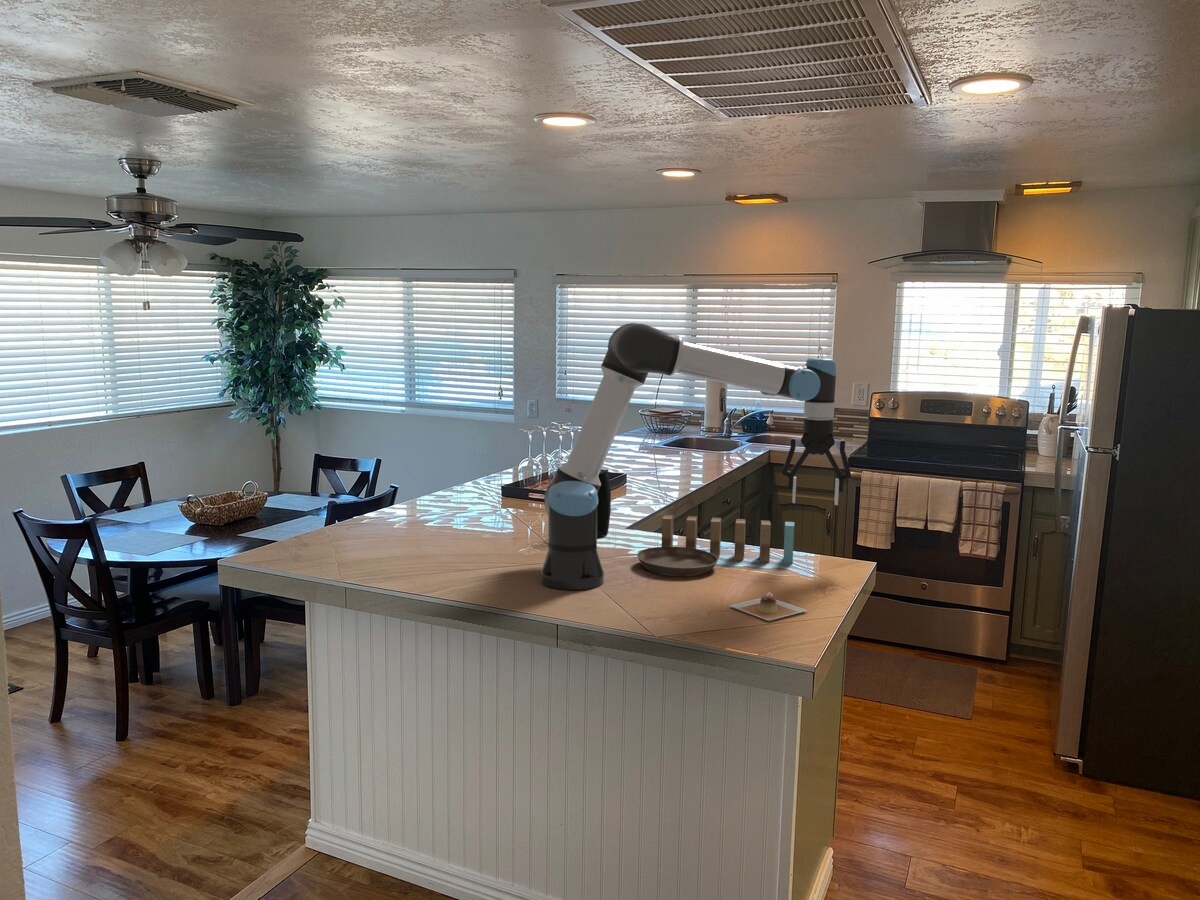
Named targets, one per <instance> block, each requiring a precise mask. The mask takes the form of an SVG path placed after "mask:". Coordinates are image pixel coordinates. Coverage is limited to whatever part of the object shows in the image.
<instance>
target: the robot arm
mask: <svg viewBox="0 0 1200 900" xmlns="http://www.w3.org/2000/svg"><path fill="white" fill-rule="evenodd" d="M600 370H601V371H602V375H603V377H602V379H601V381H600V383H599V386H598V388H597V391H596V393H595V395H594V398H593V401H592V403H591V404H590V406H589V409H588V412H587V415H586V417H585V419H584V422H583V423H582V426H581V428H580V431H579V433H578V436H577V437H576V441H575V443H574V446H573V448H572V450H571V453H570V455H569V457H568V460H567V461H566V462H565V463H564V464H562V465H560V466H559V465H558V468H557V470H556V472H555V475H554V477H553V479H552V481H551V483H550V484H549V486H547V488H546V489H545V492H544V498H543V501H544V502H543V504H544V508H545V509H544V510H545V511H546V513H547V517H548V520H547V521H548V523H547V524H548V529H547V530H548V532H547V533H548V538H547V539H548V540H547V541H548V543H547V544H548V546H547V547H548V549H547V553H546V556H545V559H544V561H543V565H542V568H541V570H540V582H541V584H543V585H544V586H546V587H549V588H552V589H556V590H568V591H575V590H576V591H577V590H579V591H580V590H588V589H589V590H590V589H593V588H596V587H599V586H602V585H603V584H604V580H605V578H604V577H605V576H604V575H605V574H604V573H605V571H604V569H603V566H602V562H601V559H600V557H599V553H598V538H597V505H598V496H597V493H598V491H599V488H600V486H601V483H600V480H599V477H598V475H599V473H600V471H601V469H603V467H604V466H603V465H604V463H605V461H606V458H607V456H608V454H609V451H610V449H611V447H612V445H613V442H614V439H615V437H616V435H617V432H618V430H619V429H620V426H621V423H622V422H623V418H624V416H625V414H626V411H627V409H628V407H629V404H630V401H631V400H632V397H633V395H634V392H635V390H636V389H637V388H639V387H641V386H643V385H644V384H645V382H646V381H647V380H646V379H647V377H648V376H649V375H648V374H649V373H651V374H659V375H664V376H665V375H666V376H673V375H674V374H679V375H680V374H681V375H685V376H690V377H695V378H699V379H703V380H708V381H712V382H713V381H714V382H717V383H721V384H727V385H731V386H735V387H740V388H744V389H749V390H753V391H758V392H759V393H761V394H762V395H763V396H772V397H774V396H780V397H783V398H788V399H794V400H796V401H800V402H804V404H803V405H804V406H803V411H804V412H803V416H804V419H803V426H802V427H803V430H802V432H803V433H802V437H801V438H796V437H791V438H790V448H789V450H788V452H787V453H788V454H787V456H786V459H785V461H784V464H783V467H782V470H781V474H782V475H783V476H785V477H787V478H788V483H787V484H788V485H787V486H788V490H789V491H792V501H791V503H792V504H796V493H797V476H795V475H796V473H797V472H798V470H799V469H800V467H801V466H802V465H803V463H804V461H805V460H806V458H807V457H808V455H820V456H824V455H825V456H826V457H827V459H828V461H829V462H830V465H831V466H832V468H833V470H834V472H835V474H836V476H837V478H835V483H834V484H835V485H834V506H839V494H840V493H843V491H844V481H845V480H846V479H850V478H851V477H852V473H851V469H850V465H849V461H848V458H847V454H846V449H845V448H846V441H845V440H844V439H843V438H842V439H835V438H834V425H835V423H834V422H835V421H834V419H832V418H834V417H835V399H836V398H835V395H836V382H837V363H836V361H835V359H833V358H826V357H825V358H824V357H823V358H822V357H821V358H819V357H815V358H812V357H809V358H807V359H806V362H805V365H800V366H799V365H797V366H796V365H789V364H784V363H780V362H776V361H772V360H767V359H763V358H758V357H754V356H750V355H746V354H745V355H744V354H741V353H737V352H736V353H735V352H731V351H727V350H723V349H718V348H715V347H710V346H705V345H701V344H696V343H692V342H688V341H684V340H683V339H682V336H680V335H676V334H674V333H673V334H672V333H668V332H667V331H663V330H660V329H659V328H655V327H652V326H651V325H648V324H644V323H638V322H637V323H636V322H631V323H625V324H623V325H621V326H619V327H618V328H617V329H615V330H614V331H613V333H611V336H610V337H609V339H608V344H607V351H606V353H605V356H604V357H603V360H602V363H601V365H600ZM800 444H802V445H803V448H804V449H803V451H802V453H801V455H800V456H799V458H798V459H797V461H796V462H795V463H794V465H793V466H792V468H791V470H789V467H790V465H791V463H792V459H793V456H794V455H795V450H796V447H799V445H800ZM834 445H836V448H837V449H839V453H840V457H841V461H842V466H843V469H844V473H843V472H842V471H841V469H840V468H839V466H838V463H837V462H836V459H835V458H834V457H833V455H832V453H831V450H830V449H831V448H832V447H833V446H834Z"/></svg>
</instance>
